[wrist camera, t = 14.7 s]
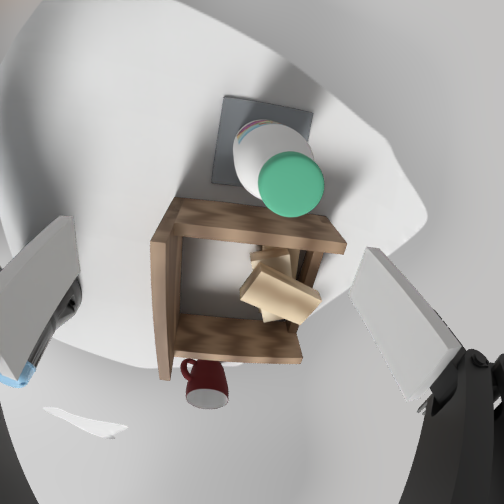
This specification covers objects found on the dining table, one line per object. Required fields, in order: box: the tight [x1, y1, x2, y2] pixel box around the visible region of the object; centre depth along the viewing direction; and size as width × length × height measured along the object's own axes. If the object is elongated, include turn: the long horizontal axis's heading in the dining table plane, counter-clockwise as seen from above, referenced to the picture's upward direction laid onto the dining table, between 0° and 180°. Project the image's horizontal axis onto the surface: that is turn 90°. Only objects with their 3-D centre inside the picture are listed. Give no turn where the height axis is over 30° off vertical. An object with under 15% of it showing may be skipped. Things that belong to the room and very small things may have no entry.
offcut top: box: [239, 262, 322, 325], centre depth 42 cm, size 6×11×2 cm, turn 58°
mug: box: [180, 358, 228, 409], centre depth 51 cm, size 10×8×10 cm
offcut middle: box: [250, 247, 292, 323], centre depth 44 cm, size 6×12×2 cm, turn 10°
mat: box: [212, 97, 313, 187], centre depth 36 cm, size 12×12×1 cm
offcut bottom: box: [258, 245, 300, 313], centre depth 46 cm, size 6×13×2 cm, turn 177°
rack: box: [150, 197, 347, 381], centre depth 40 cm, size 23×23×14 cm
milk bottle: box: [233, 119, 324, 217], centre depth 27 cm, size 8×8×20 cm
